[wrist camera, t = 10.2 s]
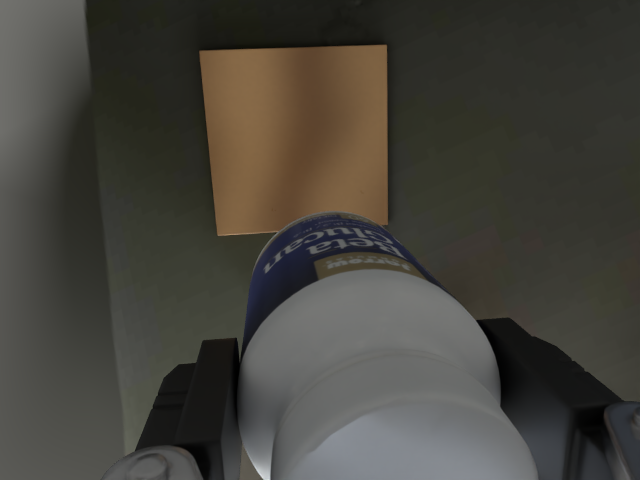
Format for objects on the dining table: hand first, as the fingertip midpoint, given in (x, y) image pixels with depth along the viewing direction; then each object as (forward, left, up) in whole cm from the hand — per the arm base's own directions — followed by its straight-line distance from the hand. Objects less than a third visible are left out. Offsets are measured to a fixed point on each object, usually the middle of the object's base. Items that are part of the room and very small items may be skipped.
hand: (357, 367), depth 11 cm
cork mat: (0, +4, -23) cm, 24 cm away
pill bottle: (0, 0, -6) cm, 6 cm away
